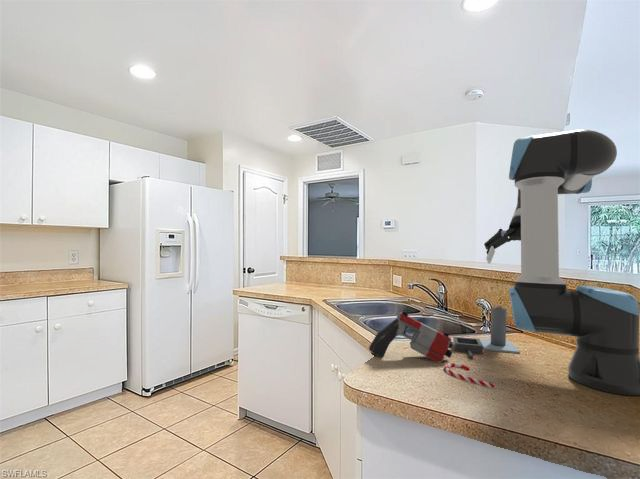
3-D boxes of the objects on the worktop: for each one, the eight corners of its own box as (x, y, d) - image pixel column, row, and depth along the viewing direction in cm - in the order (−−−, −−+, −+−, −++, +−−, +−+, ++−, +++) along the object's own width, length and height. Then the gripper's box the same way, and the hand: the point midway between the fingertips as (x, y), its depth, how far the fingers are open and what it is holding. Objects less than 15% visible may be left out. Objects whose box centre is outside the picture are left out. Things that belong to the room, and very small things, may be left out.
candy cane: (486, 387, 77) (436, 365, 90) (486, 392, 77) (436, 370, 90) (507, 381, 80) (456, 361, 94) (507, 386, 80) (456, 365, 93)
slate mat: (519, 353, 103) (519, 351, 103) (484, 350, 106) (484, 348, 106) (510, 342, 114) (510, 340, 114) (478, 339, 117) (478, 337, 117)
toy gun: (436, 387, 95) (460, 341, 94) (368, 350, 99) (390, 306, 98) (433, 380, 100) (456, 336, 99) (369, 345, 104) (390, 303, 103)
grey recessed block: (486, 360, 96) (485, 352, 96) (456, 357, 99) (456, 349, 99) (479, 346, 110) (479, 338, 110) (453, 343, 112) (453, 336, 112)
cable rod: (507, 346, 107) (508, 306, 107) (492, 345, 108) (493, 305, 108) (503, 343, 111) (504, 304, 111) (489, 341, 113) (490, 302, 113)
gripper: (563, 228, 120) (551, 270, 110) (491, 230, 139) (475, 266, 128) (559, 212, 117) (547, 255, 106) (486, 216, 135) (469, 253, 125)
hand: (508, 261), depth 117 cm, fingers open, 13 cm apart
